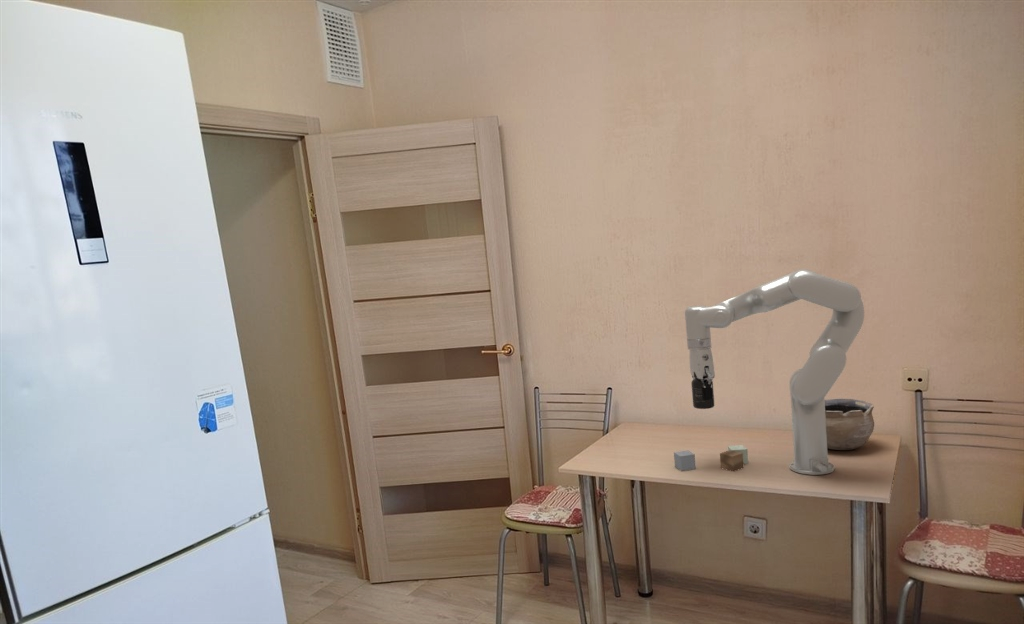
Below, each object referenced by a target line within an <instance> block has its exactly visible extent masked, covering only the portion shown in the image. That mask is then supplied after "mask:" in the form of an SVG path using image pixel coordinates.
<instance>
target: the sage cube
mask: <svg viewBox="0 0 1024 624" xmlns="http://www.w3.org/2000/svg"><path fill="white" fill-rule="evenodd" d="M729 450H732V451H737V452H741V453H743V464H744V465H748V464H749V454H748V453H749V452H748V448H747V447H745V445H743V444H739V445H737V444H736V445H727V451H729Z"/></svg>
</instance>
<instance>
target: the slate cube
mask: <svg viewBox="0 0 1024 624" xmlns="http://www.w3.org/2000/svg"><path fill="white" fill-rule="evenodd" d="M673 457H674V467H675V468H676V469H677V468H678V469H677V470H679V471H680V470H681V471H680V472H684V471H685V470H686V471H691V470H692V469H693V470H696V468H697V467H696V466H697V465H696V456H695V453H693V452H692V451H690V450H688V449H687V450H679V451H675V452H673Z"/></svg>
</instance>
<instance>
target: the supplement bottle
mask: <svg viewBox="0 0 1024 624" xmlns="http://www.w3.org/2000/svg"><path fill="white" fill-rule="evenodd" d="M694 377H695V379H693V378H692V380H691V393H692V394H691V395H692V406H693V408H694V409H700V410H706V409H707V410H708V409H712V408H714V407H715V392H714V391H715V390H714V381H713V380H712V395H713V399H712V400H703V399H702V388H703V386H702V382H701V380H700V379H698V378H697V376H696V373H695V372H694ZM703 378H707V377H703ZM706 381H707V380H706ZM706 381H704V382H706Z"/></svg>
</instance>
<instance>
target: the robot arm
mask: <svg viewBox="0 0 1024 624" xmlns="http://www.w3.org/2000/svg"><path fill="white" fill-rule="evenodd" d="M799 300H804V301H807V302H809V303H813V304H814V305H815V304H816V305H818V306H821V307H825V308H827V309H831V310H832V315H831V317H830V320H829V321H828V323H827V325H826V327H824V330H823V332H822V333H821V334H820V336H819V337H818V338H817V340H816V341H815V343H814V344H813V345H812V347H811V348H810V349H809V350H810V351H809V357H808V359H807V360H806V362H805V363H804V365H803V366H802V368H799V369H797V370H796V371H794V372H793V374H792V375H791V376H790V380H789V393H790V404H791V405H790V406H791V407H790V408H791V424H792V439H793V440H792V441H793V457H794V460H793V461H791V462H790V463H789V469H790V470H791V471H793V472H795V473H798V474H802V475H808V476H809V475H812V476H814V475H815V476H818V475H819V476H820V475H827V474H828V475H829V474H831V473H833V472H834V471H835V465H834V464H833V463H831V462H829V455H828V451H829V450H828V448H827V434H826V414H825V400H826V399H825V397H826V396H827V395H828V393H829V392H830V390H831V389H832V388H833V386H834V385H835V384H836V382H837V381H838V379H839V377H840V376H841V374H842V373H843V370H844V369H845V367H846V364H847V352H848V350H849V349H850V347H851V346H852V344H853V342H854V340H855V339H856V338H857V336H858V334H859V332H860V331H861V329H862V326H863V325H864V320H865V319H864V318H865V307H864V302H863V299H862V295H861V292H860V290H859V288H858V287H857V286H856V285H854V284H852V283H850V282H847V281H841V280H840V279H839V280H838V279H835V278H831V277H827V276H826V275H822V274H819V273H816V272H814V271H811V270H809V269H799V270H795V271H793V272H789V274H785V275H783V276H781V277H778V278H776V279H774V280H770V281H769V282H766V283H763V284H762V285H759V286H756V287H753V288H752V289H749V290H748V291H746V292H744V293H741V294H739V295H736V296H734V297H731V298H728V299H727V300H724V301H721V302H718V303H717V304H715V305H713V306H705V305H695V306H689V307H686V308H685V310H684V319H685V332H686V343H687V344H686V345H687V350H689V370H690V374H691V377H692V380H693V379H695V377H694V372H695V373H696V376H697V378H698V379H700V380H701V382H702V386H703V388H702V399H703V400H712V399H713V395H712V381H713V379H715V377H716V373H715V365H714V359H713V352H712V350H711V349H712V339H711V338H712V337H711V328H712V329H725V328H727V327H729V326H730V325H731V324H732V323H733V322H737V321H738V320H741V319H745V318H747V317H750V316H753V315H755V314H760V313H767V312H768V313H769V312H771V311H774V310H777V309H779V308H781V307H784V306H787V305H790V304H792V303H795V302H798V301H799ZM703 377H707V378H703ZM706 380H707V381H706ZM704 381H706V382H704Z"/></svg>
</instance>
